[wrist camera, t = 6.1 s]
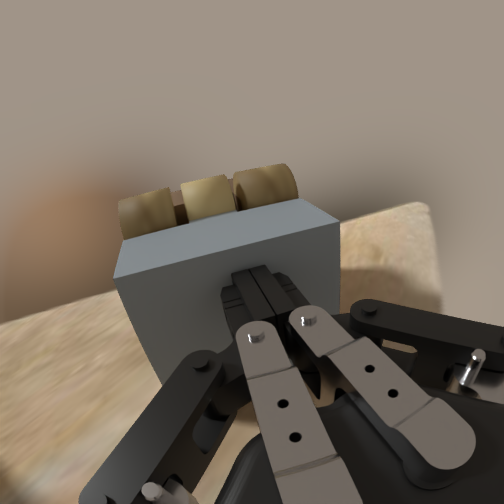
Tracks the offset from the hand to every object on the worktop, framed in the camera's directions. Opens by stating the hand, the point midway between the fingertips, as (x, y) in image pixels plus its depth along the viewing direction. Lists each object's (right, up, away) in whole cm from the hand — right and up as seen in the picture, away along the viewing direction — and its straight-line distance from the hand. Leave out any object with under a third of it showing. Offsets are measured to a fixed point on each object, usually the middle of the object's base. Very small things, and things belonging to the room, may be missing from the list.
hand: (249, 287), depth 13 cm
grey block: (-1, -5, +7) cm, 8 cm away
